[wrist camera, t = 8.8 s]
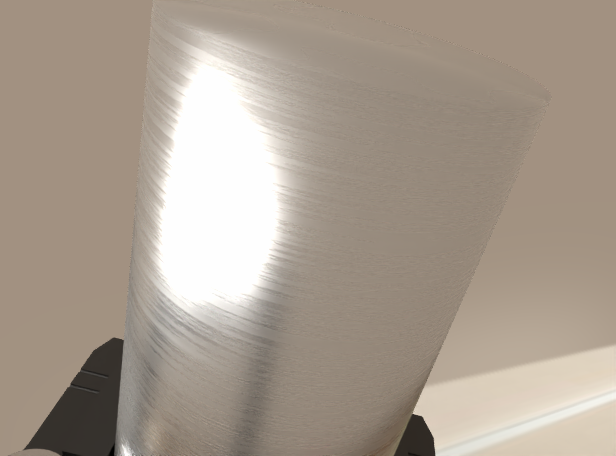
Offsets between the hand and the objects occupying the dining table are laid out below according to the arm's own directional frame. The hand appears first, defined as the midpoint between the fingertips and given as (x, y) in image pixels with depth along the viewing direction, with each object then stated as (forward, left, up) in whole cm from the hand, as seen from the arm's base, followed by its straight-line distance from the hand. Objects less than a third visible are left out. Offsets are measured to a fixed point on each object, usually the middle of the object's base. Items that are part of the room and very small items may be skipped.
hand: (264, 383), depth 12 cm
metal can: (0, -3, -10) cm, 10 cm away
